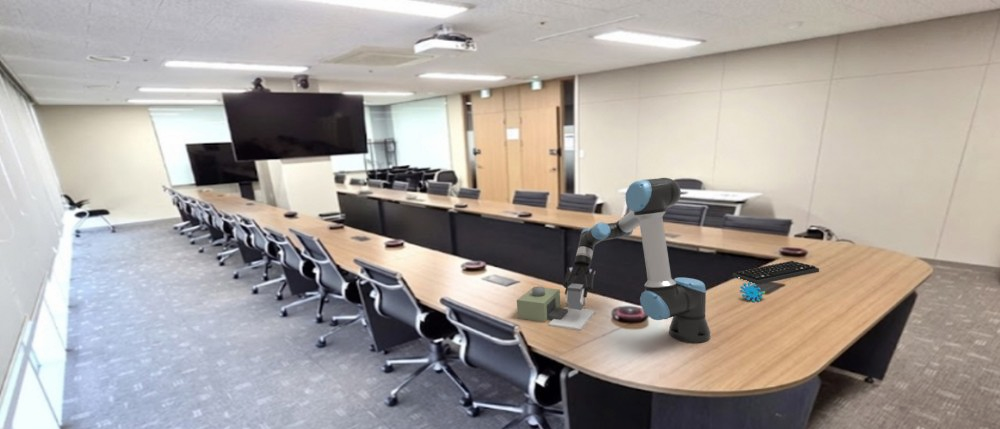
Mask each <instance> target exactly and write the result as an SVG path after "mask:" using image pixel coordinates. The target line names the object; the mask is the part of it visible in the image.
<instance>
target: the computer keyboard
mask: <svg viewBox="0 0 1000 429" xmlns="http://www.w3.org/2000/svg"><path fill="white" fill-rule="evenodd" d="M819 272H820V268H819V267H816V265H813V264H812V265H810V264H807V263H806V264H805V263H803V262H798V261H794V260H790V261H784V262H779V263H775V264H773V263H772V264H769V265H764V266H759V267H756V268H755V267H753V268H748V269H744V270H743V269H742V270H738V271H736V272H733V273H732V278H734V279H738V277H740V279H739V280H741V279H743V280H742V281H744V280H747V281H749V282H748V283H751V282H752V283H751V284H754V283H755V284H756V285H757V284H759V285H763V284H767V283H772V282H776V281H777V282H778V281H781V280H787V279H791V278H795V277H796V278H797V277H801V276H806V275H810V274H815V273H819ZM747 281H746V282H747Z"/></svg>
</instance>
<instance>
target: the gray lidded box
mask: <svg viewBox="0 0 1000 429" xmlns="http://www.w3.org/2000/svg"><path fill="white" fill-rule="evenodd" d="M582 289H585V288H584V283H582V284H581V283H572V284H571V285H570V286H568V287H567V290H568V303H567V307H568V308H569V309H577V310H582V309H584V307H585V306H586V298H585V297H584V302H583V305H581V303H580V299H581V294H582Z"/></svg>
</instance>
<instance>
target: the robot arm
mask: <svg viewBox="0 0 1000 429" xmlns="http://www.w3.org/2000/svg"><path fill="white" fill-rule="evenodd" d="M681 193H682V192H681V187H680V185H679V184H678V182H677V181H676V180H673V179H672V178H670V177H660V178H649V179H641V180H637V181H633V182H631V184H630V185H629V186H628V188H627V190H626V192H625V204H626V206H627V207H628V210H630V211H629V212H628V213H627V214H625V215H624V216H623V217H620V219H618V220H617V221H615V222H610V223H606V222H603V221H600V222H598V223H596V224H595V225H593V226H592V227H591V228H590V227H587V228H583V229H582V230H581V233H580V236H579V237H580V238H579V242H578V246H577V250H576V255H575V259H574V264H573V265H572V267H569V266H567V267H566V273H565V275H564V276H565V277H564V279H563V281H562V282H563V283H562V286H563V287H564V289H565V291H564V295H565V298H564V301H565V302H566V303H567V304H568V290H567V287H568V286H570V285H571V284H572V283H573V284H575V283H574V282H575V281H576V279H577V278H578V277H582V279H583V280H582V281H583V285H584V288H585V289H582V294H581V299H580V303H581V305H583V302H584V297H585V299H586V298H587V297H588V292H589V291H593V287H594V279H595V275H596V269H594V268H592V269H591V264H592V259H593V255H594V254H593V253H594V250H595V246H596V245H598V244H599V243H600V242H602V241H608V240H615V239H619V238H626V237H630V236H631V235H632V234H633V232H634V230H635V229H637V228H638V227H639V228H640V235H641V242H642V250H643V254H644V262H645V268H646V277H647V281H646V282H645V283H644V291H643V292H641V295H640V298H639V301H640V306H641V308H642V310H643V312H644V313H645V314H646V315H647V317H648V318H650V319H652V320H654V321H663V320H668V319H670V318H671V321H670V325H669V330H668V333H669V335H670V336H671V337H672V336H673V337H674V338H673V337H672V338H673V339H675V338H676V340H677V339H678V341H680V340H682V341H681V342H684V341H686V342H685V343H690V342H693V344H696V342H697V344H698V342H700V343H705V342H707V341H709V340H710V339H711V330H710V328H709V324H708V321H707V318H706V309H707V308H706V305H707V304H706V303H707V302H706V298H707V297H706V296H707V295H706V294H707V291H706V284H705V283H704V282H703V281H701V280H699V279H695V278H691V277H690V278H689V277H675V278H674V279H673V278H672V274H671V267H670V262H669V260H670V259H669V254H668V247H667V241H666V240H667V239H666V233H665V226H664V220H663V216H664V215H665V214H666V213H667V210H669V209H670V208H671V207H673V206H675V205H676V204H677V203H678V202H679V201H680V198H681V195H682V194H681ZM572 272H573V273H572ZM589 273H590V274H589ZM571 274H572V275H571ZM588 274H589V280H588V279H587V275H588ZM704 341H705V342H704ZM694 342H695V343H694Z"/></svg>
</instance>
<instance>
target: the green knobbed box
mask: <svg viewBox="0 0 1000 429" xmlns="http://www.w3.org/2000/svg"><path fill="white" fill-rule="evenodd" d="M516 309H517V310H516V311H517V312H516V313H517V319H522V320H527V321H528V320H529V321H534V322H535V321H536V322H541V323H546V322H547V320H548V321H550V322H549V323H548V326H550V327H556V328H561V329H569V330H576V331H582V330H583V328H584V327H585V326H586V324H587V323H588V322H589V320H590V319H591V318H592V317H593V315H594V314H595V313H596V310H595V309H589V308H588V309H587V308H582V310H577V309H569V308H568V306H564V307H563V308H562V307H561V291H560V289H558V288H549V287H543V286H533V287H532V288H530V289H529V290H528V291H527V292H526V293H524V294H523V295H521V296H520V297H519V298H517V299H516Z"/></svg>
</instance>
